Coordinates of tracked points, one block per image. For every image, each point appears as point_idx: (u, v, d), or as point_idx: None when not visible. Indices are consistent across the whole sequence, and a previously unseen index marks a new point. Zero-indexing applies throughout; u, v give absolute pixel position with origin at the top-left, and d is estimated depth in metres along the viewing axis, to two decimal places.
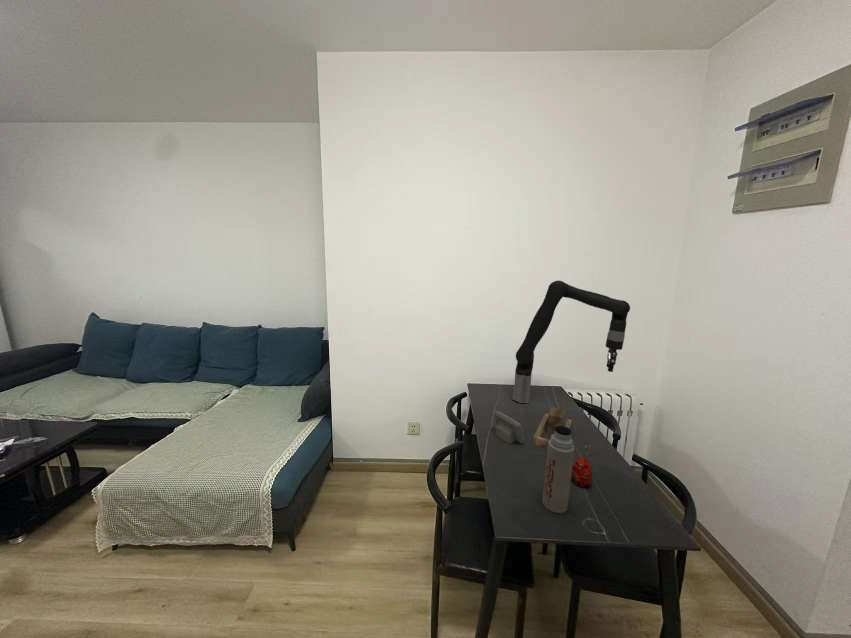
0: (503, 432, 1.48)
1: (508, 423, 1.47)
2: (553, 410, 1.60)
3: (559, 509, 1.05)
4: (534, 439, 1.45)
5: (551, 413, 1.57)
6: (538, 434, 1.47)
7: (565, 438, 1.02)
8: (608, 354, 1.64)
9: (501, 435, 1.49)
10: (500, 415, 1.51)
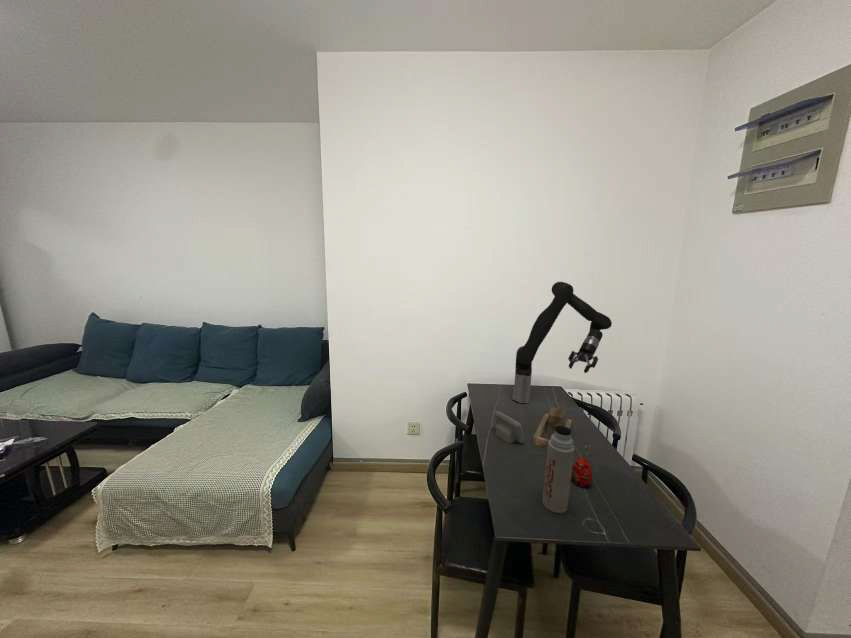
0: (503, 432, 1.48)
1: (508, 423, 1.47)
2: (553, 410, 1.60)
3: (559, 509, 1.05)
4: (534, 439, 1.45)
5: (551, 413, 1.57)
6: (538, 434, 1.47)
7: (565, 438, 1.02)
8: (585, 356, 1.72)
9: (501, 435, 1.49)
10: (500, 415, 1.51)
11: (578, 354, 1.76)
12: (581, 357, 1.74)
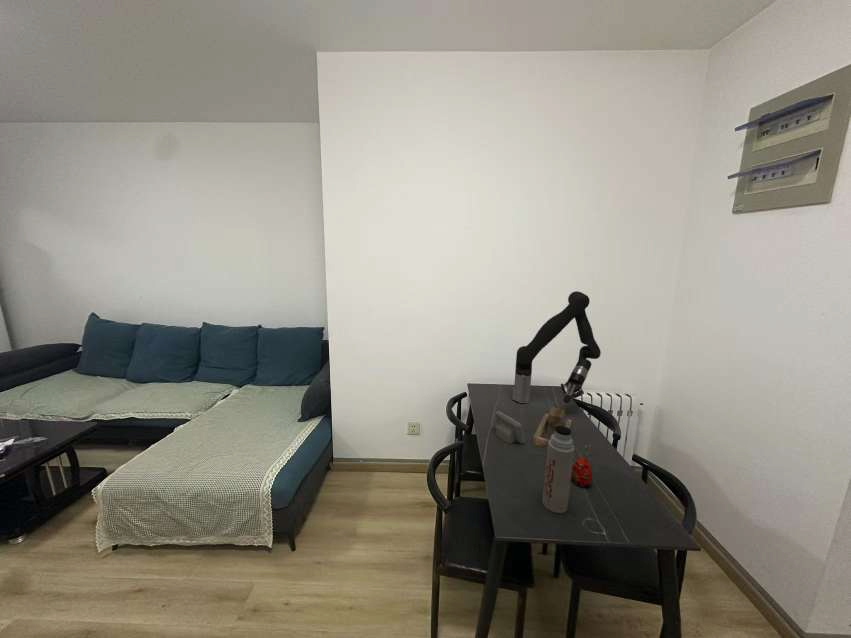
0: (503, 432, 1.48)
1: (509, 423, 1.47)
2: (552, 410, 1.60)
3: (559, 509, 1.05)
4: (534, 439, 1.45)
5: (551, 413, 1.57)
6: (538, 434, 1.47)
7: (565, 438, 1.02)
8: (573, 387, 1.72)
9: (502, 435, 1.49)
10: (501, 415, 1.51)
11: (568, 384, 1.75)
12: (572, 387, 1.73)
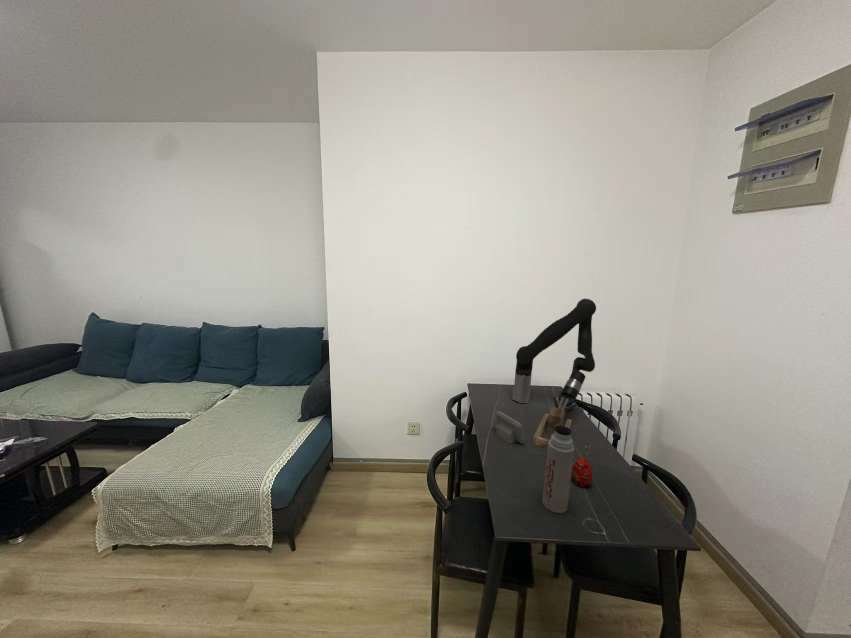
0: (504, 432, 1.48)
1: (509, 423, 1.47)
2: (552, 410, 1.60)
3: (559, 509, 1.05)
4: (534, 439, 1.45)
5: (551, 413, 1.57)
6: (538, 434, 1.47)
7: (565, 438, 1.02)
8: (566, 401, 1.65)
9: (502, 435, 1.49)
10: (501, 415, 1.51)
11: (561, 397, 1.69)
12: (565, 400, 1.67)
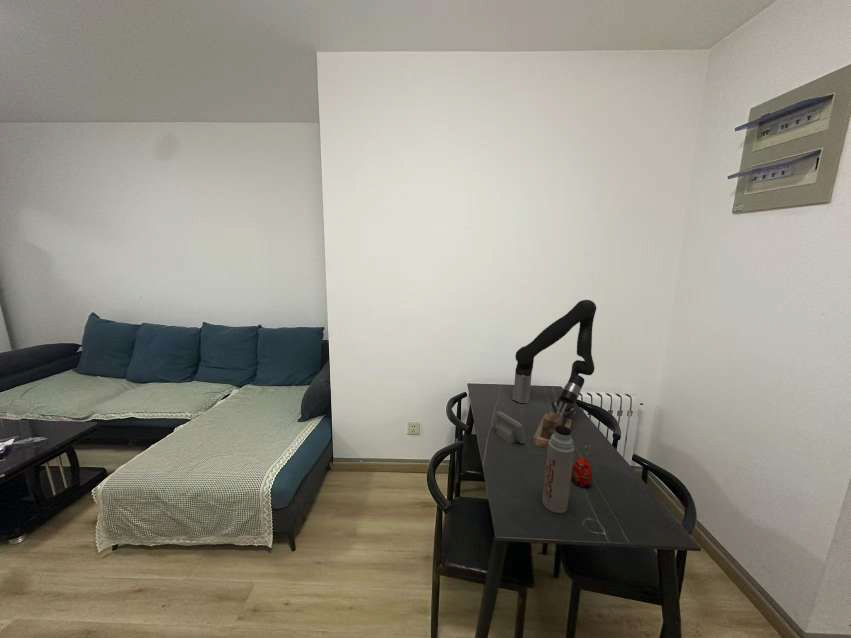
0: (504, 432, 1.48)
1: (509, 423, 1.47)
2: (549, 415, 1.55)
3: (559, 509, 1.05)
4: (534, 439, 1.45)
5: (546, 417, 1.52)
6: (538, 434, 1.47)
7: (565, 438, 1.02)
8: (564, 406, 1.60)
9: (502, 435, 1.49)
10: (501, 415, 1.51)
11: (559, 402, 1.63)
12: (563, 405, 1.61)
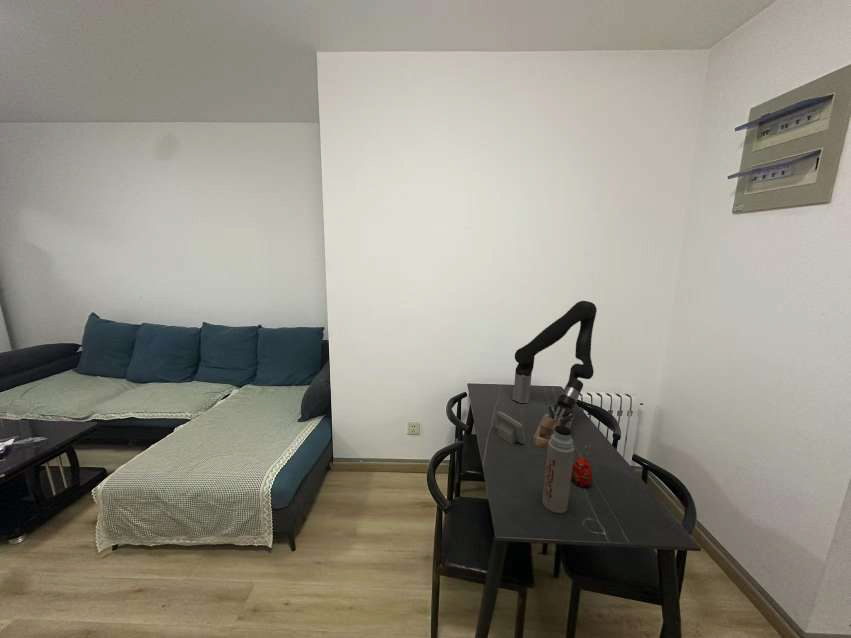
0: (504, 432, 1.48)
1: (509, 423, 1.47)
2: (546, 421, 1.49)
3: (559, 509, 1.05)
4: (534, 439, 1.45)
5: (543, 423, 1.46)
6: (538, 434, 1.47)
7: (565, 438, 1.02)
8: (562, 411, 1.54)
9: (503, 435, 1.49)
10: (502, 415, 1.51)
11: (557, 407, 1.57)
12: (561, 411, 1.55)
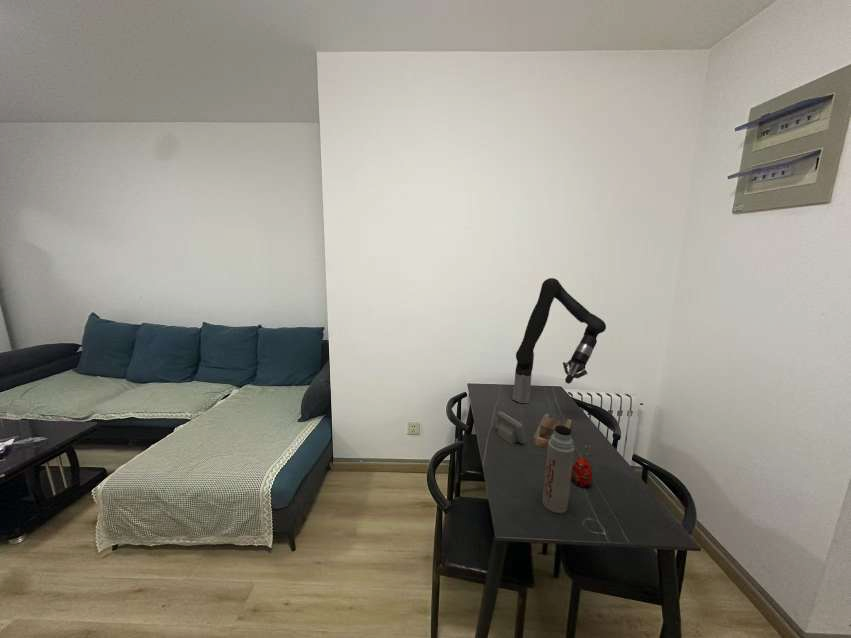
0: (505, 432, 1.48)
1: (510, 423, 1.47)
2: (546, 421, 1.49)
3: (559, 509, 1.05)
4: (534, 439, 1.45)
5: (543, 424, 1.46)
6: (538, 434, 1.47)
7: (565, 438, 1.02)
8: (576, 367, 1.62)
9: (503, 435, 1.49)
10: (502, 415, 1.51)
11: (571, 363, 1.65)
12: (575, 366, 1.63)
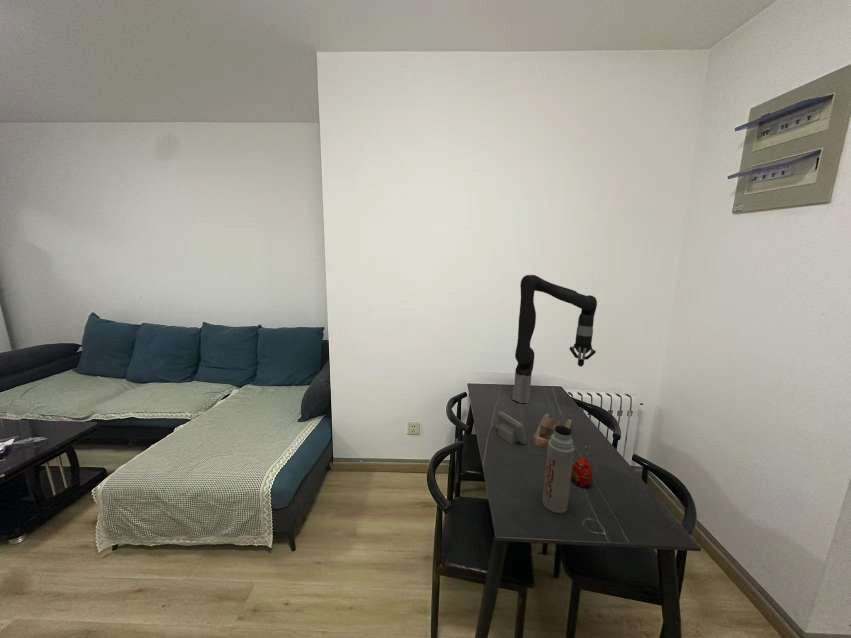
0: (505, 432, 1.48)
1: (510, 423, 1.47)
2: (546, 421, 1.49)
3: (559, 509, 1.05)
4: (534, 439, 1.45)
5: (543, 424, 1.46)
6: (538, 434, 1.47)
7: (565, 438, 1.02)
8: (584, 350, 1.64)
9: (503, 435, 1.49)
10: (502, 415, 1.51)
11: (577, 347, 1.66)
12: (582, 349, 1.65)
